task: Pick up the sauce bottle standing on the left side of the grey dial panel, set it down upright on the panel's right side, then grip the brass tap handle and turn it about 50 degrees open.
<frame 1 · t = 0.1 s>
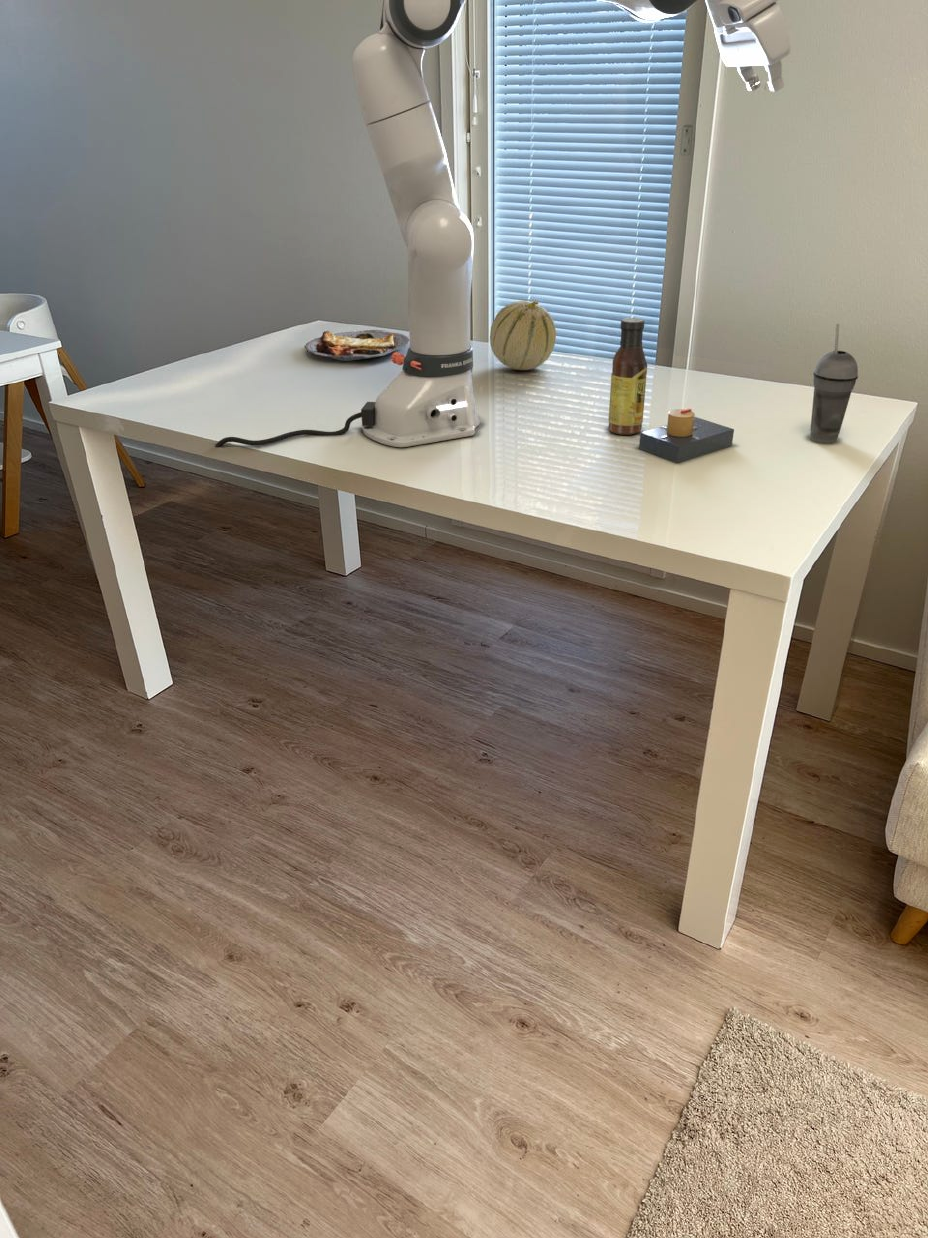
hand: (766, 89, 154), 54 cm above the table, tool tilted 30°, fingers open, 8 cm apart
cantaloupe: (522, 369, 207), on the table
beverage cup: (823, 440, 164), on the table
sauce bottle: (624, 431, 170), on the table
tap handle: (680, 422, 158), point 5 cm above the table, hinge at 0.0°
food plate: (357, 352, 223), on the table
grey dial panel: (685, 447, 162), on the table
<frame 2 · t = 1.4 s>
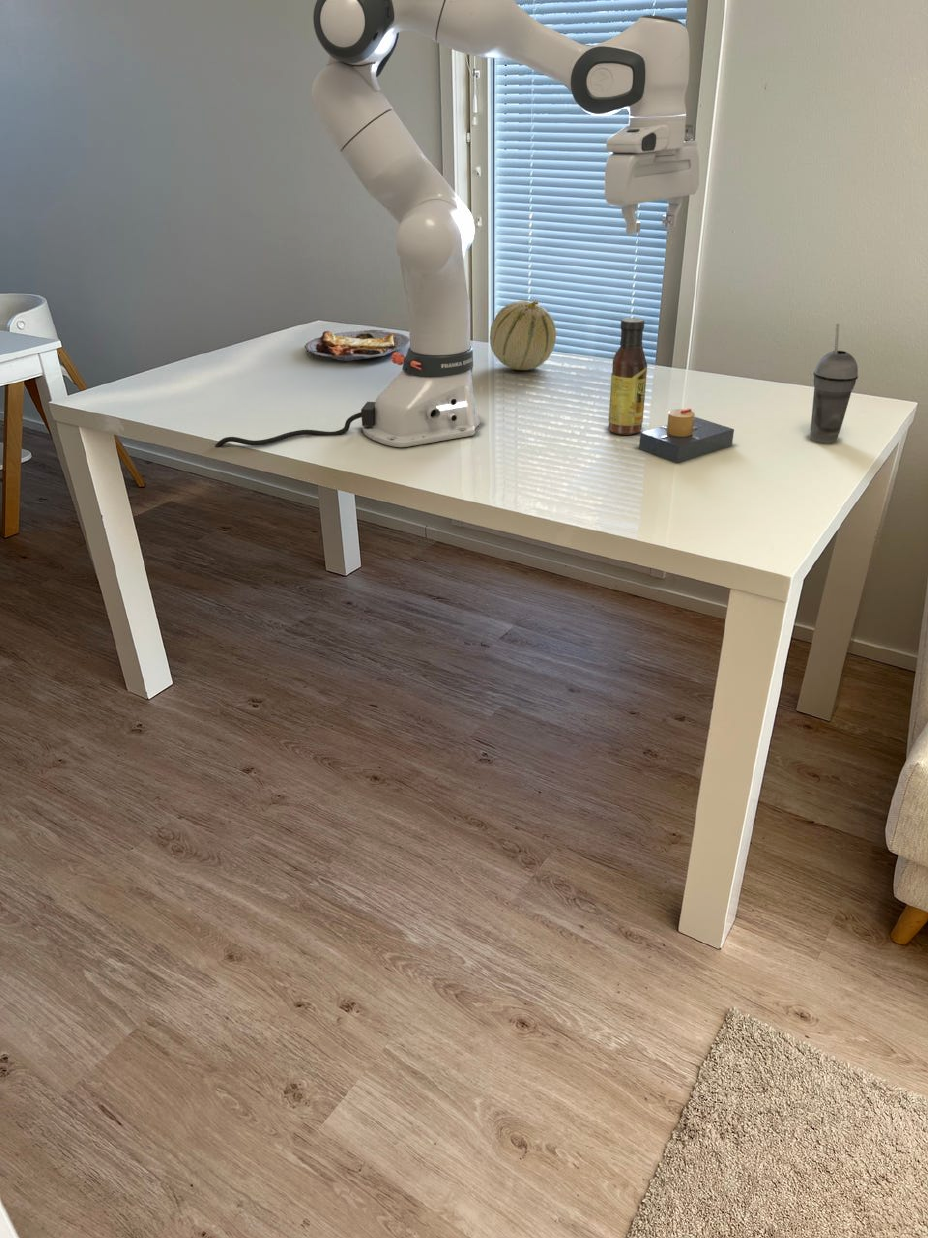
hand: (651, 229, 153), 34 cm above the table, tool pointing down, fingers open, 8 cm apart
nothing on the table moved.
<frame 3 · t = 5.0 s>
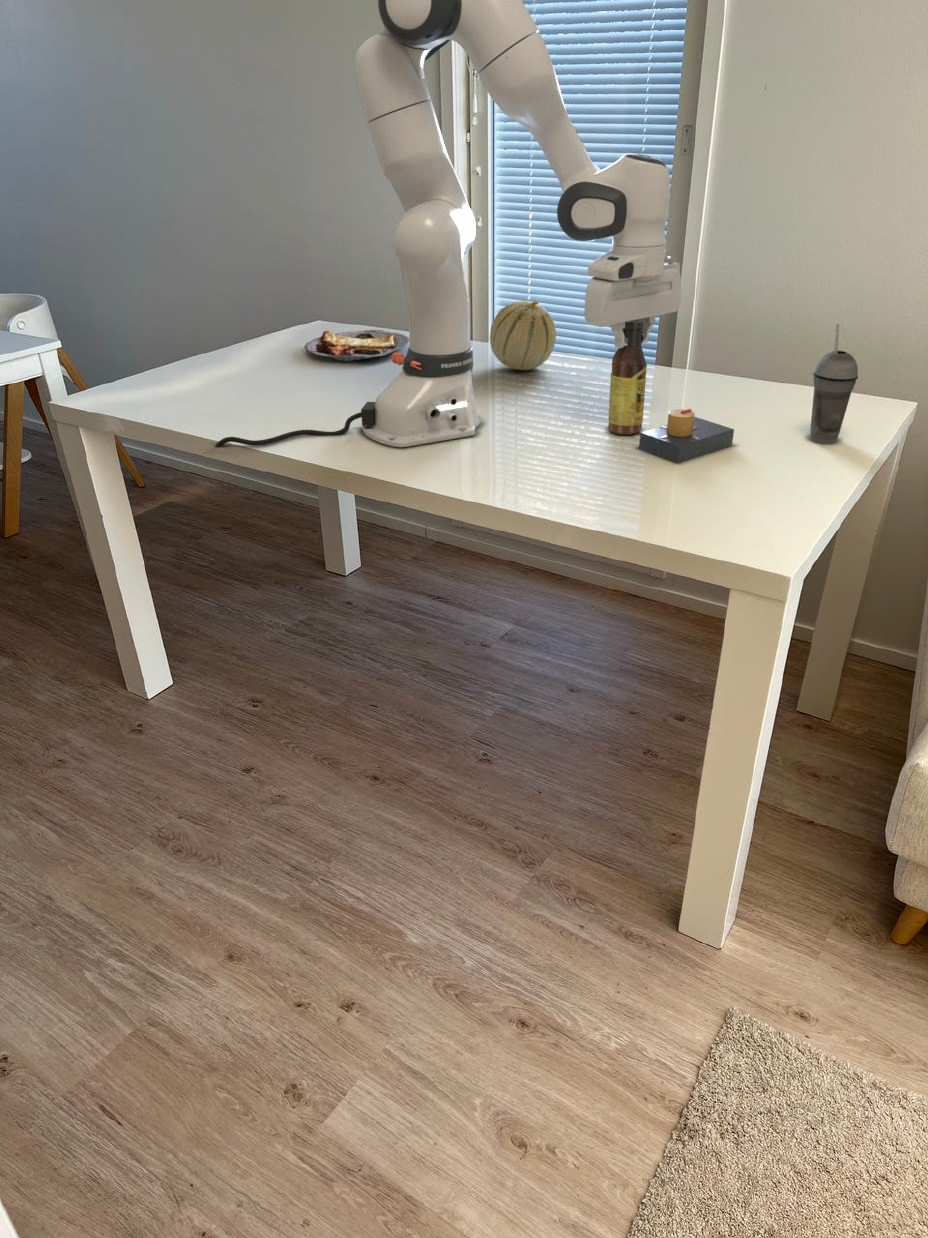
hand: (631, 344, 162), 16 cm above the table, tool pointing down, fingers closed on sauce bottle, 4 cm apart
sauce bottle: (624, 431, 170), on the table, touching gripper
everything else where it was.
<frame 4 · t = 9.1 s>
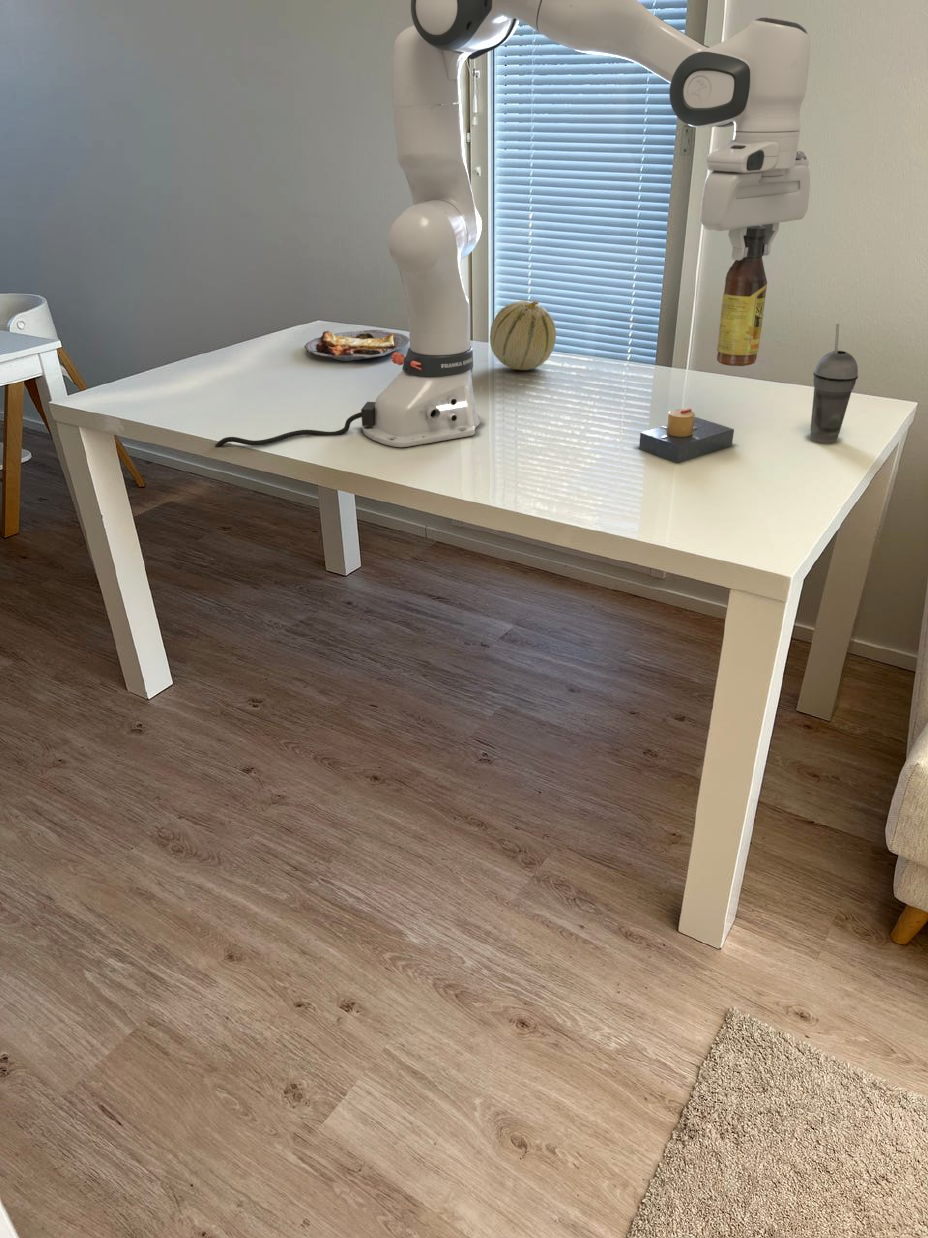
hand: (750, 257, 137), 33 cm above the table, tool pointing down, fingers closed on sauce bottle, 4 cm apart
sauce bottle: (735, 363, 145), point 17 cm above the table, touching gripper
everything else where it was.
when the fingers open (16 cm above the table, at t = 13.4 s): sauce bottle stays where it is, on the table.
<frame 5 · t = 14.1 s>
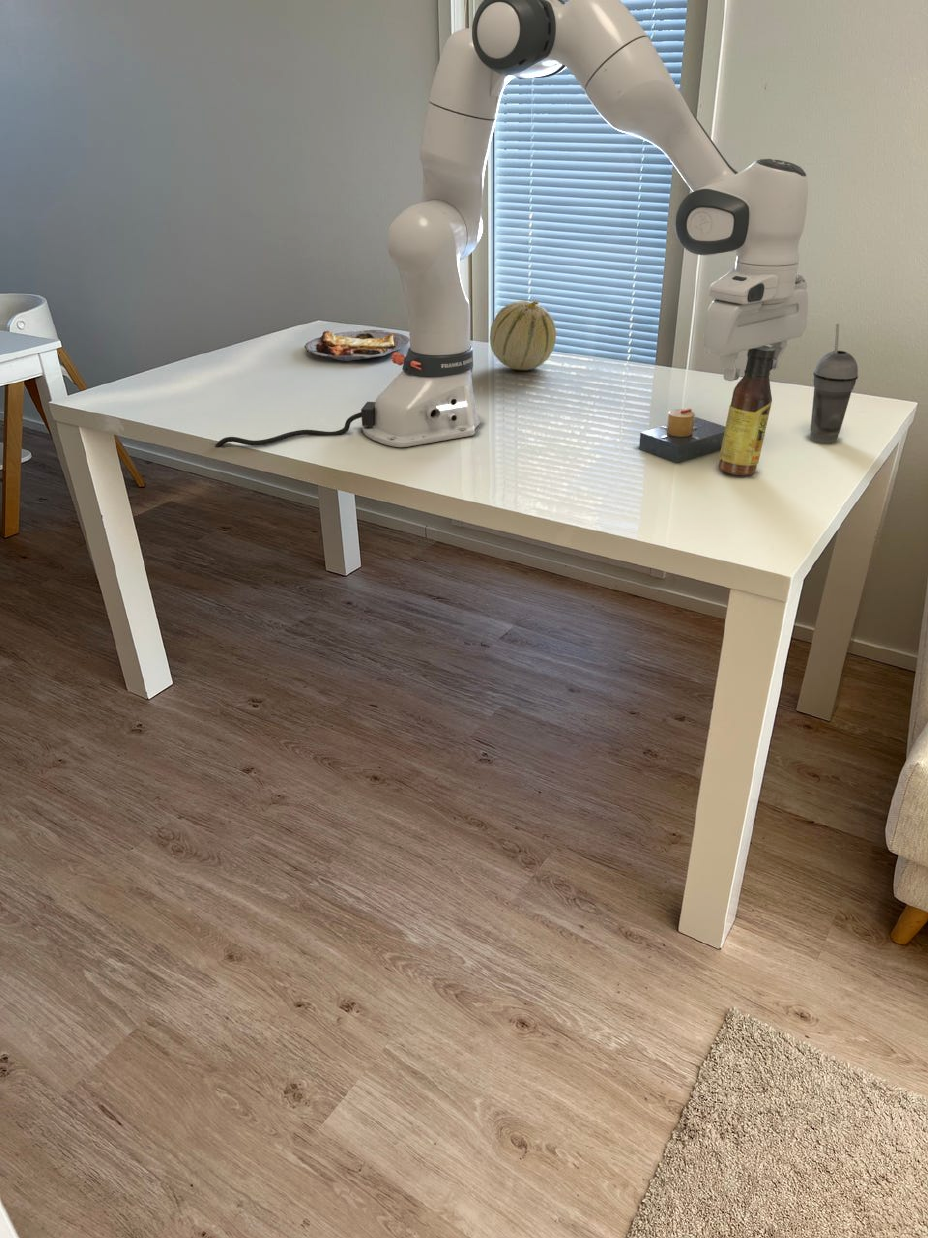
hand: (750, 374, 144), 16 cm above the table, tool pointing down, fingers open, 8 cm apart
sauce bottle: (736, 471, 152), on the table
everything else where it was.
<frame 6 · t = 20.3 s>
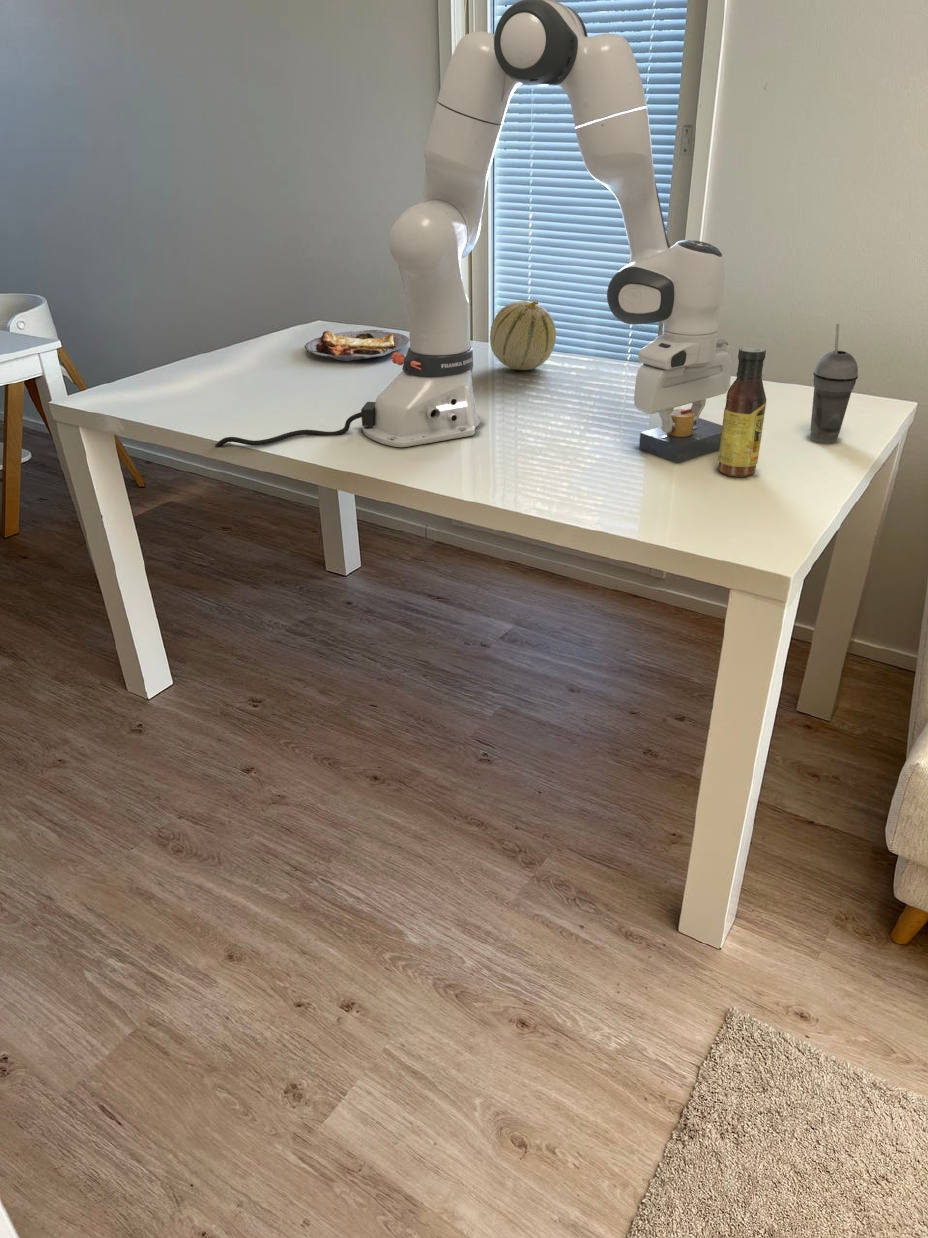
hand: (679, 428, 159), 4 cm above the table, tool pointing down, fingers closed on tap handle, 4 cm apart
tap handle: (680, 422, 158), point 5 cm above the table, hinge at -0.2°, touching gripper
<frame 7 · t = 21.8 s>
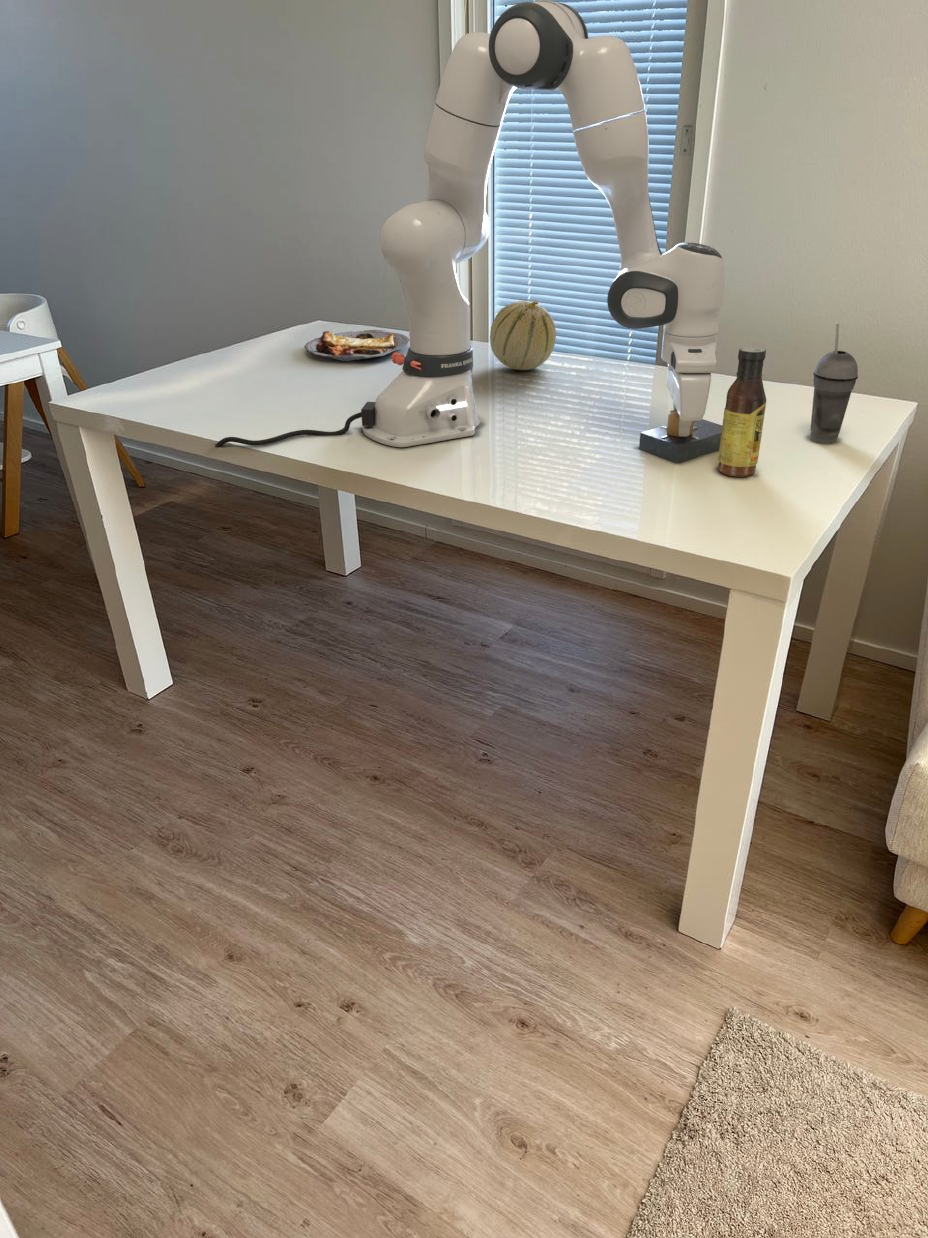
hand: (680, 429, 159), 4 cm above the table, tool pointing down, fingers closed on tap handle, 4 cm apart
tap handle: (680, 422, 158), point 5 cm above the table, hinge at 48.7°, touching gripper
everything else where it was.
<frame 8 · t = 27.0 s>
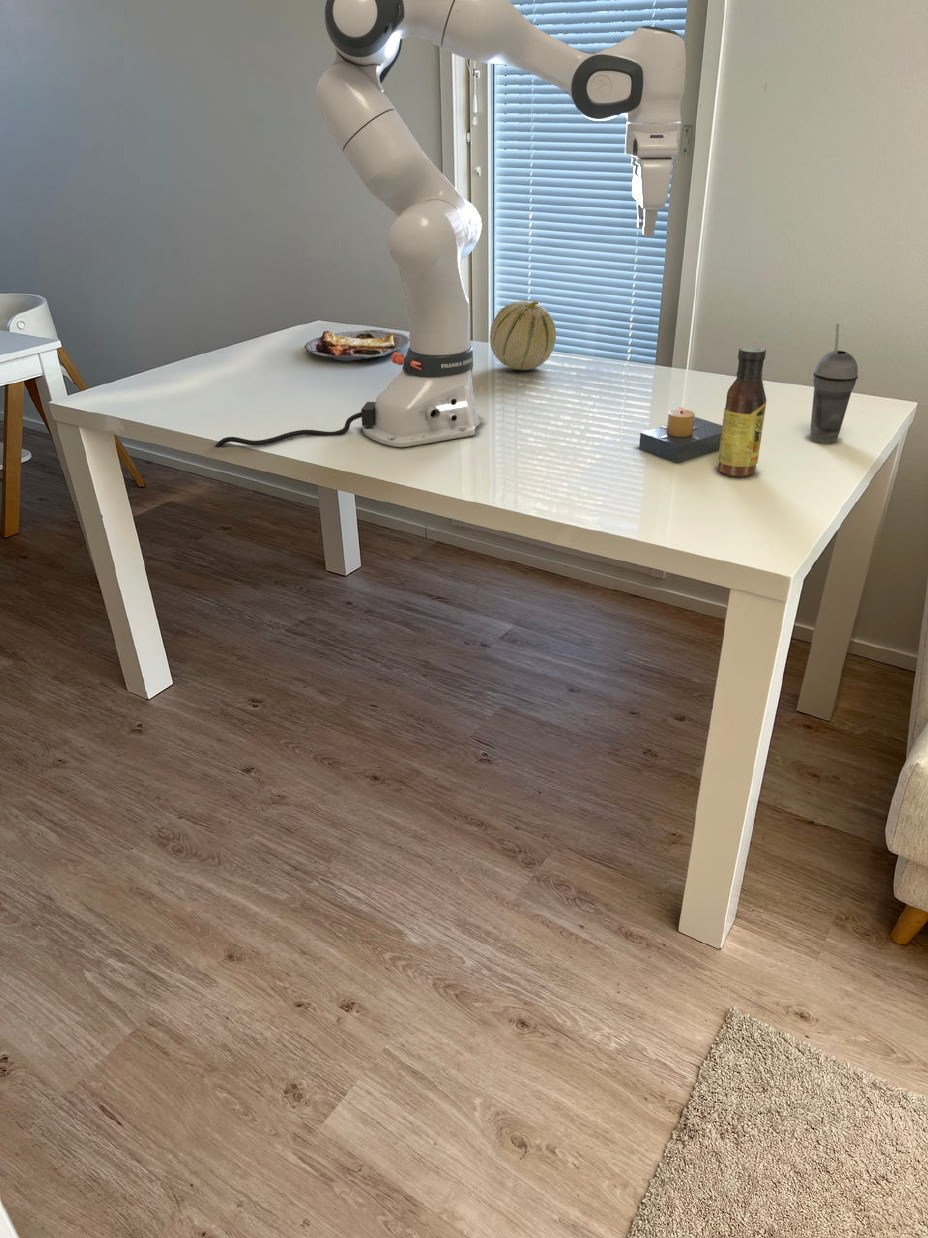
hand: (645, 232, 159), 33 cm above the table, tool pointing down, fingers open, 8 cm apart
tap handle: (680, 422, 158), point 5 cm above the table, hinge at 48.9°
everything else where it was.
at the end: sauce bottle inside the target area on the table beside the grey dial panel (0.2 cm from its centre), on the table; sauce bottle tilted 0°; tap handle at +49° (first picture: +0°) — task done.
